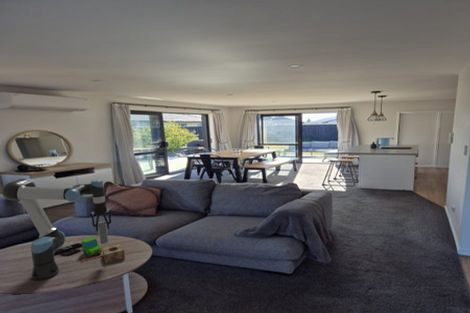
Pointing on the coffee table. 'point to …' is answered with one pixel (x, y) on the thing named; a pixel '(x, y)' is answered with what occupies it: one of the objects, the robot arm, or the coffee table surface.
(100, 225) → the dark grey bar
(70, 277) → the coffee table surface
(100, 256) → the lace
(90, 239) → the toy car
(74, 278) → the coffee table surface
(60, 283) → the coffee table surface
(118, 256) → the wooden square frame
